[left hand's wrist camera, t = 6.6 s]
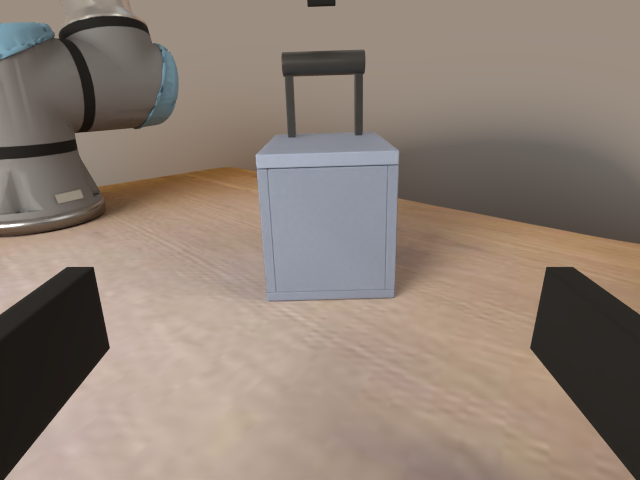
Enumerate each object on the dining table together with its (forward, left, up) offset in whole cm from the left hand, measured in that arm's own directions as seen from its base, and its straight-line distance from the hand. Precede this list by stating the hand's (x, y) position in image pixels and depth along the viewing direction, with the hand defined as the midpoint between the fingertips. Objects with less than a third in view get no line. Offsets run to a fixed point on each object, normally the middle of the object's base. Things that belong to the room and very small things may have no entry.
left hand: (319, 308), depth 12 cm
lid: (+20, -14, +1) cm, 24 cm away
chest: (+20, -14, -9) cm, 26 cm away
